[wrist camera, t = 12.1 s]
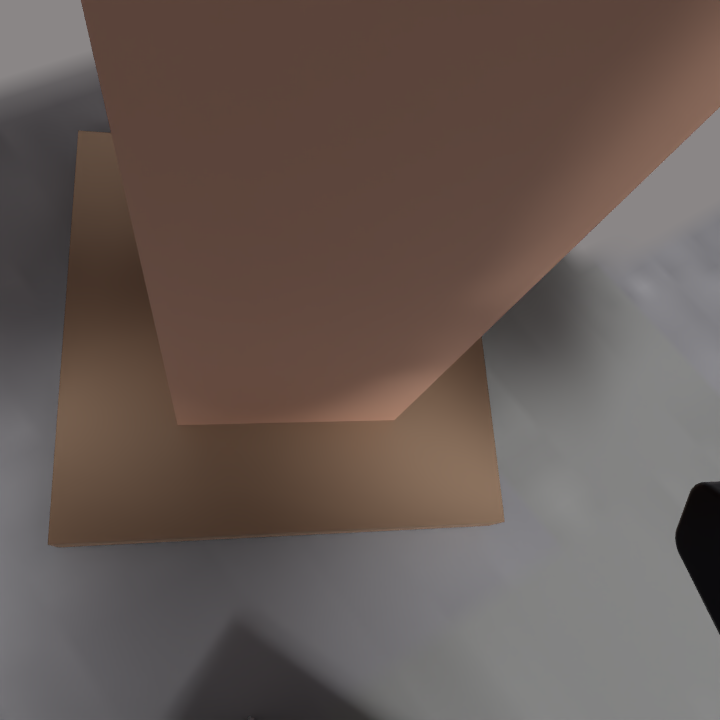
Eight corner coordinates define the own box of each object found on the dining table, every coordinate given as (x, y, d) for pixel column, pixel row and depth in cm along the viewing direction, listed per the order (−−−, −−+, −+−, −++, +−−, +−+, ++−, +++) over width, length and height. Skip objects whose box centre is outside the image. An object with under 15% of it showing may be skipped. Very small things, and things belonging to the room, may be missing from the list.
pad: (489, 525, 17) (504, 521, 16) (58, 547, 15) (47, 544, 14) (447, 175, 20) (459, 155, 19) (85, 154, 18) (78, 130, 17)
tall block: (394, 420, 16) (889, -58, 4) (177, 424, 15) (40, -183, 3) (378, 232, 18) (711, -506, 6) (179, 225, 17) (92, -687, 5)
